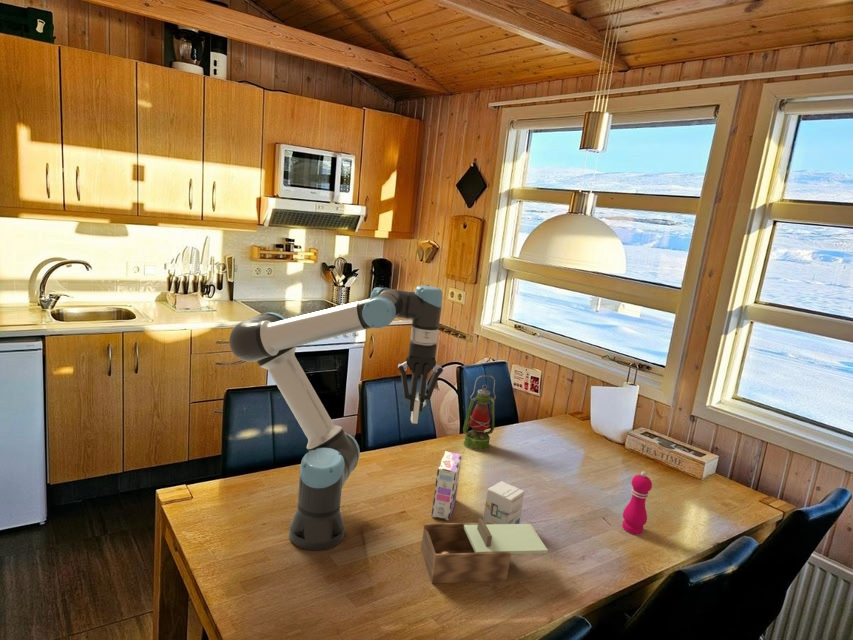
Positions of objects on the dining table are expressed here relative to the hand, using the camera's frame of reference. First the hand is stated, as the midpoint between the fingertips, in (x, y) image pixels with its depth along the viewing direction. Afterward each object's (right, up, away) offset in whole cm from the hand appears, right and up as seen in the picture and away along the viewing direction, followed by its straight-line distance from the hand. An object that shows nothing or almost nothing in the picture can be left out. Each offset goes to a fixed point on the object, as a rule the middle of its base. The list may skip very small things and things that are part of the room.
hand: (413, 421), depth 161 cm
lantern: (+24, -22, +68) cm, 76 cm away
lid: (+25, -30, -10) cm, 40 cm away
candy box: (+9, -31, +18) cm, 37 cm away
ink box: (+26, -34, +13) cm, 45 cm away
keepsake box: (+13, -37, -10) cm, 41 cm away
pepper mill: (+69, -38, +19) cm, 81 cm away
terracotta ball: (+8, -36, -12) cm, 39 cm away
